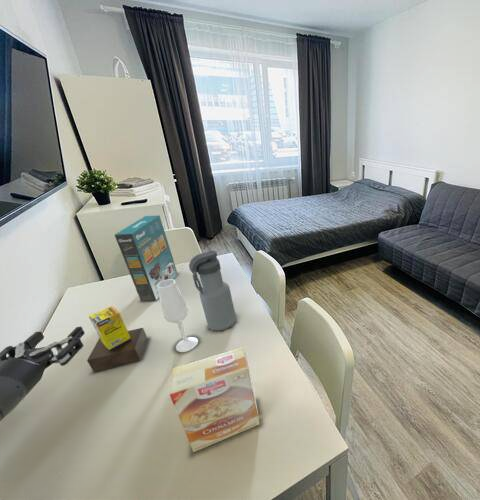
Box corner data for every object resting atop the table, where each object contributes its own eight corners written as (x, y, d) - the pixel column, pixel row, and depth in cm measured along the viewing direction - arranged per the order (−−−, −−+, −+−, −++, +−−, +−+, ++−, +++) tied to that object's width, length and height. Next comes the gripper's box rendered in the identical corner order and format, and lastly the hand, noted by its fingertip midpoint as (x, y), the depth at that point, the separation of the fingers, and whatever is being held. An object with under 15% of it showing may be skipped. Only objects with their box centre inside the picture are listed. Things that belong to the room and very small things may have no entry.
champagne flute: (191, 334, 94) (172, 275, 83) (202, 342, 90) (183, 281, 80) (171, 346, 89) (148, 285, 79) (182, 355, 85) (159, 292, 75)
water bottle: (212, 336, 93) (192, 265, 81) (203, 322, 99) (183, 254, 87) (240, 323, 99) (226, 254, 87) (230, 310, 105) (215, 245, 93)
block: (93, 372, 80) (86, 360, 78) (105, 348, 89) (99, 337, 86) (140, 360, 84) (134, 348, 82) (147, 338, 92) (143, 327, 90)
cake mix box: (164, 274, 132) (145, 216, 119) (177, 273, 132) (159, 215, 119) (141, 301, 112) (114, 234, 99) (156, 300, 113) (131, 233, 100)
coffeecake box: (192, 453, 60) (167, 395, 51) (193, 423, 66) (171, 367, 57) (260, 425, 65) (248, 368, 57) (256, 400, 71) (244, 344, 63)
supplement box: (132, 339, 85) (119, 312, 80) (110, 352, 81) (95, 323, 76) (124, 332, 88) (111, 305, 83) (102, 344, 84) (87, 316, 79)
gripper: (34, 370, 50) (88, 315, 65) (-59, 384, 48) (18, 323, 62) (53, 397, 54) (100, 339, 68) (-34, 411, 51) (34, 347, 66)
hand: (61, 331), depth 65 cm, fingers open, 8 cm apart
